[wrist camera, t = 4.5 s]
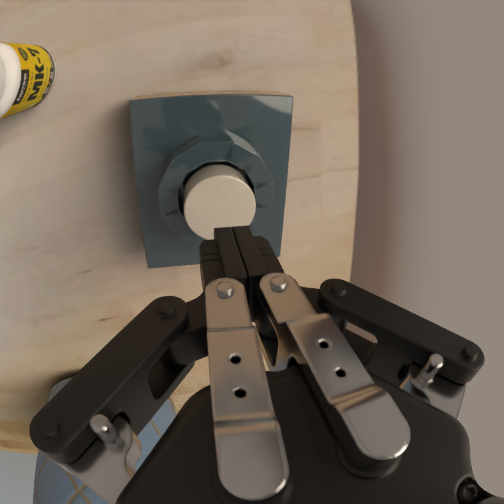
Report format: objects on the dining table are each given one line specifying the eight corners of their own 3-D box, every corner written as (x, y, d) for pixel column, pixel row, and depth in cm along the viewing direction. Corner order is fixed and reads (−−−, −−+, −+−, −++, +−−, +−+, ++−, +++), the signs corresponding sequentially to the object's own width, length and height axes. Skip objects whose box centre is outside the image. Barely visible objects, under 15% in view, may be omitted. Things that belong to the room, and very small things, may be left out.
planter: (133, 442, 43) (143, 549, 27) (29, 400, 33) (17, 524, 17) (208, 400, 39) (238, 539, 22) (81, 341, 29) (65, 528, 12)
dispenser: (135, 96, 18) (123, 103, 14) (279, 92, 20) (305, 99, 16) (150, 247, 25) (146, 286, 21) (269, 237, 27) (288, 272, 23)
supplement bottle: (59, 100, 17) (2, 122, 10) (7, 114, 16) (-59, 145, 9) (58, 37, 14) (-2, 28, 7) (3, 55, 13) (-66, 61, 6)
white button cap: (181, 166, 17) (181, 177, 16) (249, 162, 18) (257, 173, 16) (185, 227, 20) (186, 244, 18) (247, 222, 20) (254, 238, 19)
